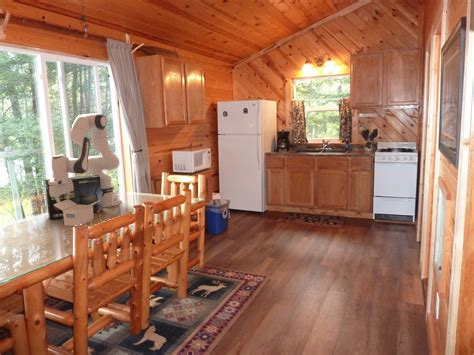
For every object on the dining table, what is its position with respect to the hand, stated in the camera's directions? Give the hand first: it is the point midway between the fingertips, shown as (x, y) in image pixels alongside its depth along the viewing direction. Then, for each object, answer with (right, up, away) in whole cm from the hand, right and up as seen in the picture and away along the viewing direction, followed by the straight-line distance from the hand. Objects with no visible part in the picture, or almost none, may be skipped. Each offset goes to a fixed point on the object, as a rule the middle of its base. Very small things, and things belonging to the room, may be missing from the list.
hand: (63, 200), depth 242 cm
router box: (0, -12, +20) cm, 23 cm away
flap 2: (+19, -3, -3) cm, 19 cm away
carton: (+11, -15, 0) cm, 18 cm away
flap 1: (+2, -3, 0) cm, 3 cm away
